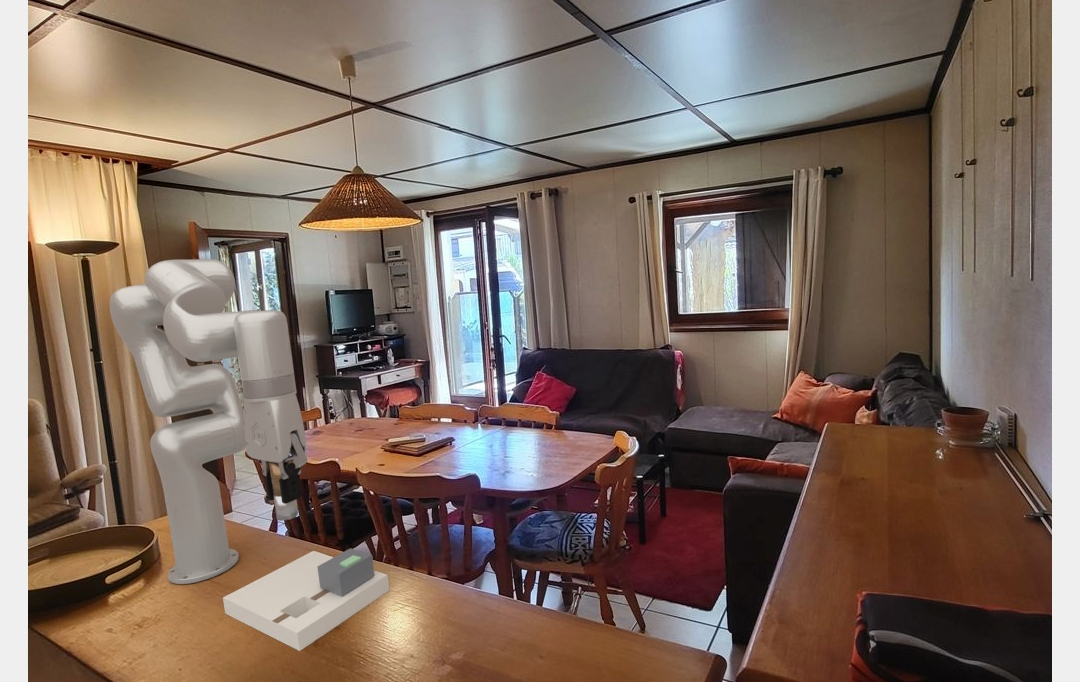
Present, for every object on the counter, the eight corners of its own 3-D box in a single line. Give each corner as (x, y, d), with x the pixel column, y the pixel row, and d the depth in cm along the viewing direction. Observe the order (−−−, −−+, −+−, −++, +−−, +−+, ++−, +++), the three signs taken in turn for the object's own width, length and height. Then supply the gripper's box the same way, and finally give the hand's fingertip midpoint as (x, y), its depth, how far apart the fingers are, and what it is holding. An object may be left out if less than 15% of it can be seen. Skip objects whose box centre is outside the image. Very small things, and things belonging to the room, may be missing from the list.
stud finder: (320, 587, 95) (317, 564, 94) (353, 568, 101) (350, 546, 100) (342, 596, 91) (338, 571, 91) (374, 575, 97) (371, 552, 97)
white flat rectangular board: (225, 613, 95) (222, 597, 95) (315, 564, 110) (313, 550, 110) (299, 651, 83) (297, 632, 83) (389, 590, 98) (387, 574, 98)
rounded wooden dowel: (272, 518, 88) (264, 459, 86) (290, 510, 90) (282, 453, 89) (284, 521, 86) (275, 461, 85) (302, 513, 88) (294, 455, 87)
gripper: (218, 391, 87) (235, 499, 89) (277, 395, 78) (293, 516, 80) (263, 381, 93) (277, 483, 95) (322, 384, 84) (336, 497, 86)
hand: (285, 497), depth 88 cm, fingers closed on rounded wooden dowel, 3 cm apart
